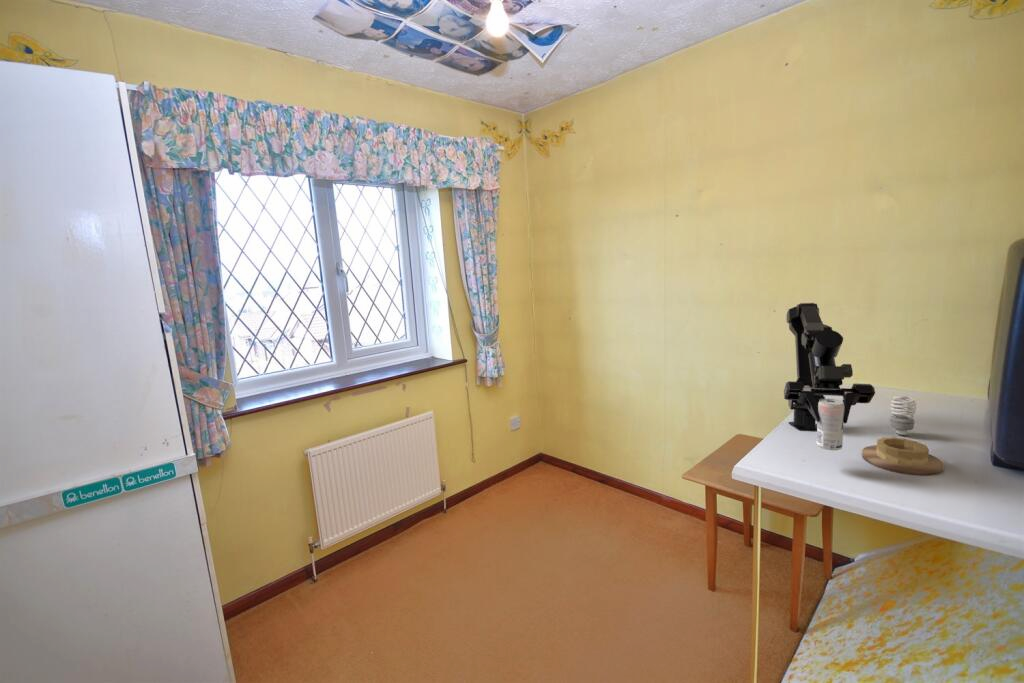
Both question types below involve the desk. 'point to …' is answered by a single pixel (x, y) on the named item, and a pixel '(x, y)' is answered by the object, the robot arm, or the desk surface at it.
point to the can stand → (903, 457)
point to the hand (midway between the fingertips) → (831, 422)
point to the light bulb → (903, 421)
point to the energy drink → (830, 424)
